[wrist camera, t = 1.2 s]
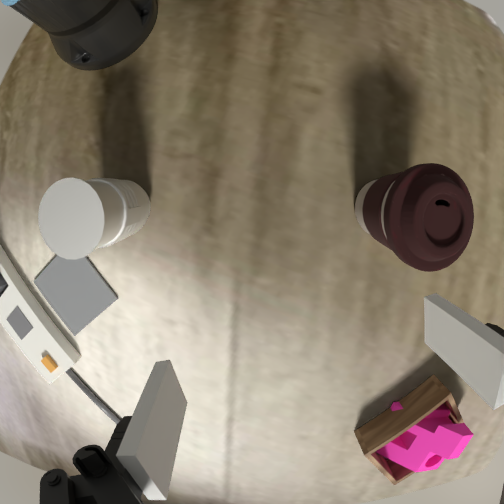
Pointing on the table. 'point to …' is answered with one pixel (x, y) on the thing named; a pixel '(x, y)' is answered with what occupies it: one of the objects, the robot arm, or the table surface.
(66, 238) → the grey ribbed canister
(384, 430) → the display box
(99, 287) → the mat
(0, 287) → the block
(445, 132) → the table surface
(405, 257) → the coffee cup
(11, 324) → the power strip
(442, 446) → the bracket
